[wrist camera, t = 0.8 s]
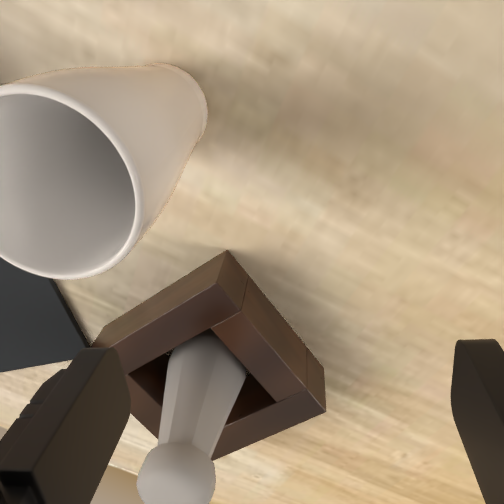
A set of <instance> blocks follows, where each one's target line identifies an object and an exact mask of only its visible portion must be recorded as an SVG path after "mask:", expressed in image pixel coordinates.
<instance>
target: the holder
mask: <svg viewBox="0 0 504 504" xmlns="http://www.w3.org/2000/svg"><path fill="white" fill-rule="evenodd" d="M209 328H211V329H212V330H213V331H214V332H215V334H216V335H217V336H218V337H219V338H220V339H221V340H222V341H223V343H224V344H225V345H226V346H227V347H228V348H229V349H230V350H231V352H232V353H233V354H234V355H235V356H236V357H237V358H238V359H239V360H240V362H241V363H242V364H243V365H244V366H245V367H246V368H247V369H248V371H249V372H250V373H251V375H249V376H247V377H246V379H245V381H244V383H243V385H242V387H241V390H240V392H239V394H238V396H237V399H236V401H235V403H234V405H233V407H232V410H231V412H230V414H229V416H228V418H227V421H226V423H225V425H224V428H223V430H222V432H221V435H220V437H219V440H218V442H217V444H216V447H215V449H214V452H213V454H212V456H211V460H212V461H213V460H216V459H218V458H220V457H223V456H225V455H227V454H230V453H232V452H234V451H237V450H239V449H241V448H244V447H246V446H248V445H250V444H253V443H255V442H257V441H260V440H262V439H264V438H267V437H269V436H271V435H274V434H276V433H278V432H281V431H283V430H285V429H288V428H290V427H292V426H295V425H297V424H299V423H302V422H304V421H306V420H309V419H311V418H313V417H316V416H318V415H320V414H322V413H325V412H326V398H325V380H324V368H323V367H322V366H321V364H320V363H319V362H318V361H317V359H316V358H315V357H314V356H313V354H312V353H311V352H310V351H309V349H308V348H307V347H306V346H305V344H304V343H303V342H302V341H301V339H300V338H299V337H298V336H297V334H296V333H295V332H294V331H293V330H292V328H291V327H290V326H289V325H288V323H287V322H286V321H285V320H284V318H283V317H282V316H281V315H280V313H279V312H278V311H277V310H276V309H275V307H274V306H273V305H272V304H271V302H270V301H269V300H268V299H267V297H266V296H265V295H264V294H263V293H262V291H261V290H260V289H259V288H258V286H257V285H256V284H255V283H254V281H253V280H252V279H251V278H250V277H249V276H248V274H247V273H246V272H245V271H244V269H243V268H242V267H241V266H240V264H239V263H238V262H237V261H236V259H235V258H234V257H233V256H232V255H231V253H230V252H229V251H228V250H226V251H224V252H223V253H221V254H219V255H218V256H216V257H215V258H213V259H211V260H210V261H208V262H207V263H205V264H203V265H202V266H200V267H199V268H197V269H195V270H194V271H192V272H191V273H189V274H188V275H186V276H184V277H183V278H181V279H180V280H178V281H176V282H175V283H173V284H172V285H170V286H168V287H167V288H165V289H164V290H162V291H160V292H159V293H157V294H156V295H154V296H152V297H151V298H149V299H148V300H146V301H144V302H143V303H141V304H140V305H138V306H136V307H135V308H133V309H132V310H130V311H128V312H127V313H125V314H124V315H122V316H120V317H119V318H117V319H116V320H114V321H113V322H111V323H109V324H108V325H106V326H105V327H104V328H103V329H102V331H101V332H100V334H99V335H98V337H97V338H96V340H95V341H94V343H93V345H92V346H91V348H105V347H113V348H115V349H116V350H117V352H118V355H119V358H120V361H121V365H122V368H123V372H124V375H125V379H126V382H127V386H128V389H129V393H130V398H131V410H130V413H131V414H132V415H133V416H134V417H135V418H136V419H137V420H138V421H139V422H140V423H141V424H142V425H144V426H145V427H146V428H147V429H148V430H149V431H150V432H151V433H152V434H153V435H154V436H155V437H156V438H157V439H158V438H159V430H160V423H161V415H162V407H163V400H164V392H165V384H166V377H167V369H168V361H169V359H170V358H169V357H168V356H167V355H166V354H165V353H166V352H168V351H170V350H171V349H173V348H175V347H177V346H178V345H180V344H182V343H184V342H186V341H187V340H189V339H191V338H193V337H195V336H196V335H198V334H200V333H202V332H203V331H205V330H207V329H209Z"/></svg>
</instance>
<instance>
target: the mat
mask: <svg viewBox="0 0 504 504" xmlns="http://www.w3.org/2000/svg"><path fill="white" fill-rule="evenodd" d="M83 348H90V346H89V344H88V342H87V341H86V339H85V337H84V335H83V333H82V331H81V330H80V328H79V326H78V324H77V322H76V320H75V319H74V317H73V315H72V313H71V311H70V309H69V308H68V306H67V304H66V302H65V300H64V298H63V297H62V295H61V293H60V291H59V289H58V287H57V286H56V284H55V282H54V280H53V278H47V277H43V276H39V275H36V274H32V273H30V272H27V271H25V270H22V269H20V268H18V267H16V266H14V265H12V264H11V263H9V262H7V261H5V260H4V259H2V258H1V257H0V372H5V371H11V370H17V369H22V368H28V367H34V366H39V365H45V364H50V363H56V362H62V361H67V360H73V359H74V358H75V357H76V355H77V354H78V352H79V351H80V350H81V349H83Z"/></svg>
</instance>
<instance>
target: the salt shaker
mask: <svg viewBox="0 0 504 504" xmlns="http://www.w3.org/2000/svg"><path fill="white" fill-rule="evenodd" d="M245 379H246V367H245V366H244V365H243V364H242V363H241V362H240V360H239V359H238V358H237V357H236V356H235V355H234V354H233V353H232V352H231V350H230V349H229V348H228V347H227V346H226V345H225V344H224V343H223V341H222V340H221V339H220V338H219V337H218V336H217V335H216V334H215V332H214V331H213V330H212V329H211V328H209V329H207V330H205V331H203V332H202V333H200V334H198V335H196V336H195V337H193V338H191V339H189V340H187V341H186V342H184V343H182V344H180V345H178V346H177V347H175V348H174V350H173V352H172V354H171V357H170V359H169V361H168V369H167V377H166V384H165V392H164V400H163V407H162V415H161V423H160V430H159V438H158V446H157V447H155V448H154V449H152V450H151V451H150V452H149V453H148V454H147V456H146V458H145V460H144V462H143V464H142V467H141V469H140V471H139V473H138V479H137V489H138V492H139V496H140V497H141V499H142V501H143V502H144V503H145V504H209V502H210V501H211V498H212V495H213V493H214V490H215V483H216V475H215V467H214V463H213V461H212V460H211V456H212V454H213V452H214V449H215V447H216V444H217V442H218V440H219V437H220V435H221V432H222V430H223V428H224V425H225V423H226V421H227V418H228V416H229V414H230V412H231V410H232V407H233V405H234V403H235V401H236V399H237V396H238V394H239V392H240V390H241V387H242V385H243V383H244V381H245Z"/></svg>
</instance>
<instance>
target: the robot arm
mask: <svg viewBox="0 0 504 504" xmlns="http://www.w3.org/2000/svg"><path fill="white" fill-rule="evenodd" d="M451 407H452V413H453V417H454V421H455V424H456V426H457V429H458V432H459V434H460V437H461V440H462V442H463V445H464V447H465V450H466V453H467V455H468V458H469V461H470V463H471V466H472V469H473V471H474V474H475V476H476V479H477V482H478V484H479V487H480V490H481V492H482V495H483V498H484V500H485V503H486V504H504V351H503V350H502V348H501V346H500V345H499V343H498V342H497V341H496V340H495V339H478V340H458V341H457V343H456V346H455V354H454V365H453V375H452V385H451ZM130 410H131V398H130V393H129V389H128V386H127V382H126V379H125V375H124V372H123V368H122V365H121V361H120V358H119V355H118V352H117V350H116V349H115V348H113V347H105V348H83V349H81V350H80V351H79V352H78V354H77V355H76V357H75V358H74V359H73V361H72V362H71V364H70V365H69V366H68V368H67V369H61V370H60V371H58V372H57V373H56V374H55V375H53V376H52V377H51V378H50V379H48V380H47V381H46V382H44V383H43V384H42V385H41V387H40V388H39V389H38V391H37V392H36V393H35V395H34V396H33V398H32V399H31V400H30V404H27V406H26V407H25V408H24V410H23V411H22V412H21V414H20V417H19V418H17V419H16V420H15V422H14V423H13V424H12V426H11V427H10V428H9V430H8V431H7V433H6V434H5V435H4V436H3V438H2V439H1V441H0V504H90V502H91V500H92V498H93V496H94V494H95V492H96V489H97V487H98V485H99V483H100V481H101V478H102V476H103V474H104V472H105V470H106V468H107V465H108V463H109V461H110V459H111V457H112V454H113V452H114V450H115V448H116V446H117V444H118V441H119V439H120V437H121V435H122V433H123V430H124V428H125V426H126V424H127V422H128V419H129V415H130Z"/></svg>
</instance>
